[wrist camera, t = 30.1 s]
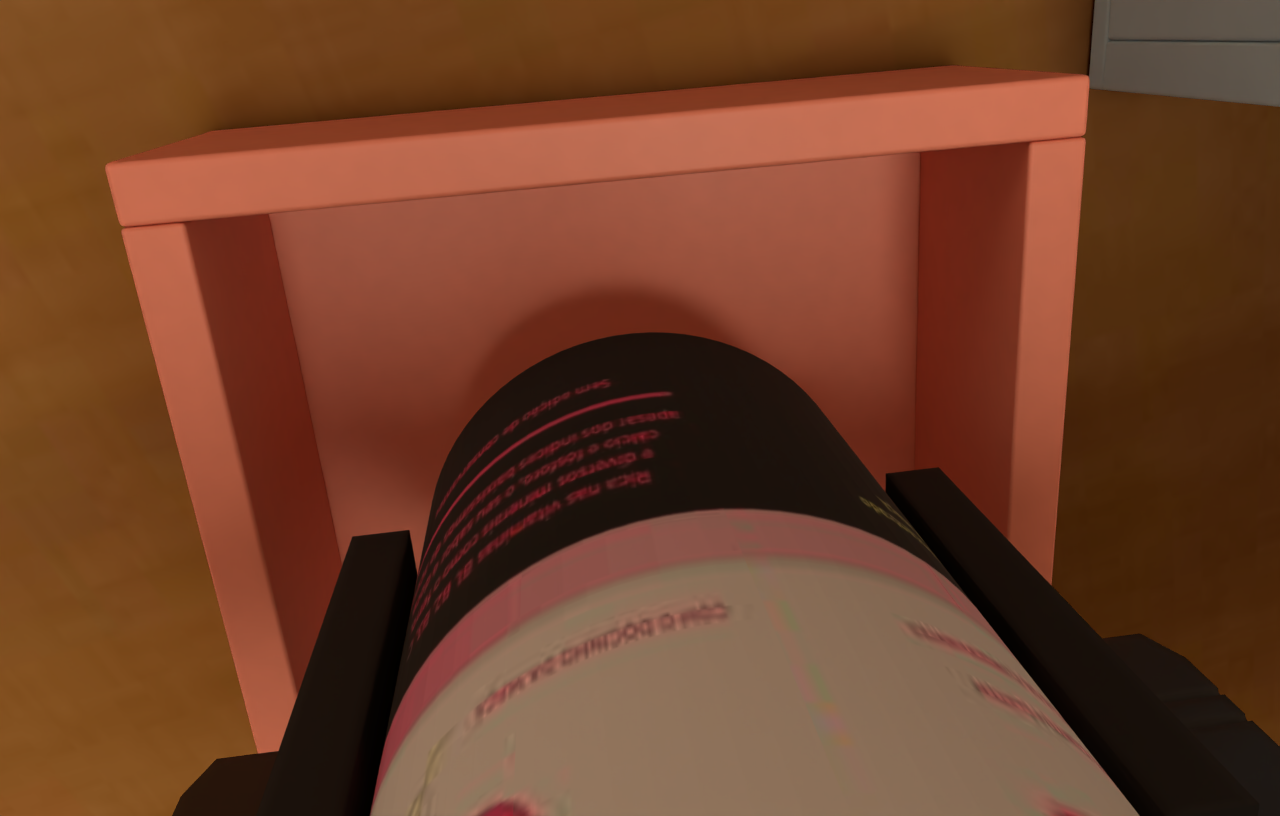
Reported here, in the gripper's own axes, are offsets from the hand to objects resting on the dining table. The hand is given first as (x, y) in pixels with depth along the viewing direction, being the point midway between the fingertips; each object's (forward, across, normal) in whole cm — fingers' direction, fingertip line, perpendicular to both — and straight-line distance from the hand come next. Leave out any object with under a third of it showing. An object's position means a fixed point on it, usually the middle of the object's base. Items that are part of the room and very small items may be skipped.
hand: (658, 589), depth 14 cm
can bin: (+5, 0, 0) cm, 5 cm away
